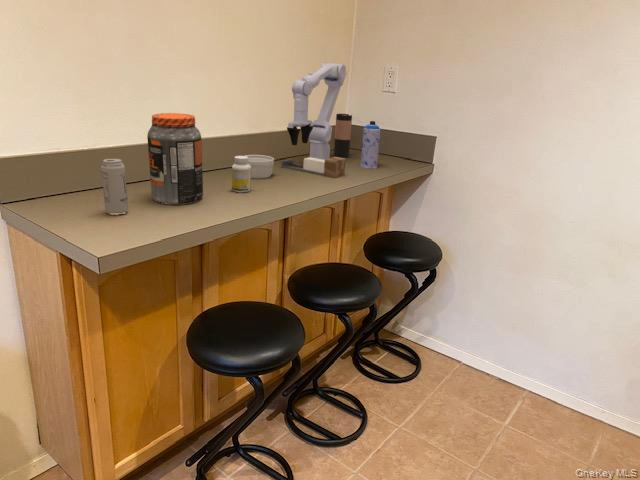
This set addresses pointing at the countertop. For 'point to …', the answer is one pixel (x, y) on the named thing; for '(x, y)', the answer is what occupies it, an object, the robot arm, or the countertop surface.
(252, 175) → the ramekin
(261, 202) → the countertop surface
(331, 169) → the socket block
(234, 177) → the pill bottle
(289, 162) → the guide channel
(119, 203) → the energy drink can
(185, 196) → the supplement tub
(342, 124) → the travel mug
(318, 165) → the banded cream case
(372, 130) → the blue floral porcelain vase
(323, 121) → the robot arm
